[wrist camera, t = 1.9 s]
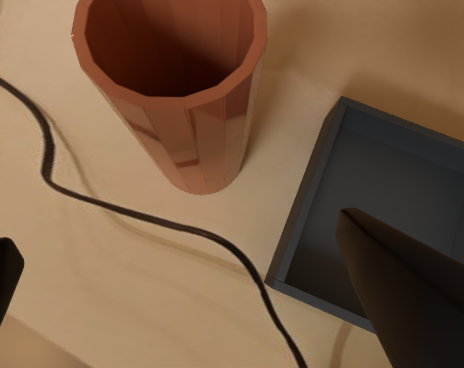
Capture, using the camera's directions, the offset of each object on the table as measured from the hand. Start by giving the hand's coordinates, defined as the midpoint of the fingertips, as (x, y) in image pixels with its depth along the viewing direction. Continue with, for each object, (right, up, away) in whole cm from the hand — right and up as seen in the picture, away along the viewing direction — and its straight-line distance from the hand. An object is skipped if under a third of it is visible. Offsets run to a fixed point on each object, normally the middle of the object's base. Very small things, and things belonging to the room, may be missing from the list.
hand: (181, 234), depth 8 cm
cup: (-1, +4, +14) cm, 15 cm away
